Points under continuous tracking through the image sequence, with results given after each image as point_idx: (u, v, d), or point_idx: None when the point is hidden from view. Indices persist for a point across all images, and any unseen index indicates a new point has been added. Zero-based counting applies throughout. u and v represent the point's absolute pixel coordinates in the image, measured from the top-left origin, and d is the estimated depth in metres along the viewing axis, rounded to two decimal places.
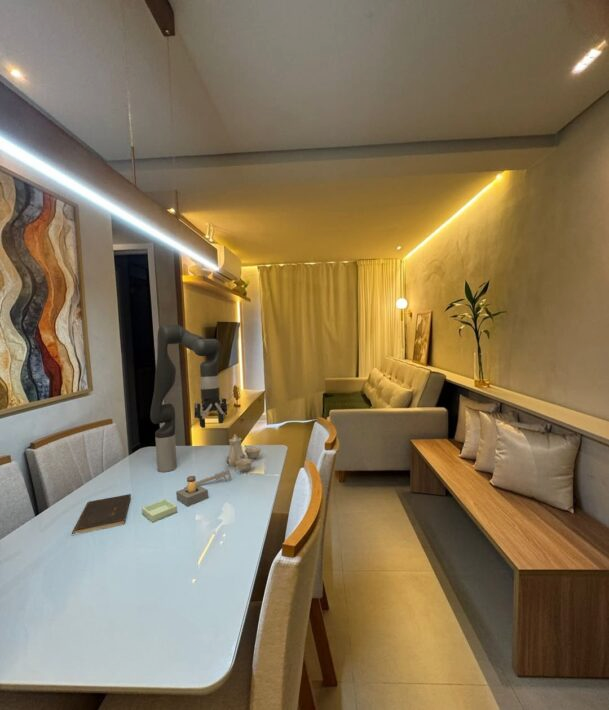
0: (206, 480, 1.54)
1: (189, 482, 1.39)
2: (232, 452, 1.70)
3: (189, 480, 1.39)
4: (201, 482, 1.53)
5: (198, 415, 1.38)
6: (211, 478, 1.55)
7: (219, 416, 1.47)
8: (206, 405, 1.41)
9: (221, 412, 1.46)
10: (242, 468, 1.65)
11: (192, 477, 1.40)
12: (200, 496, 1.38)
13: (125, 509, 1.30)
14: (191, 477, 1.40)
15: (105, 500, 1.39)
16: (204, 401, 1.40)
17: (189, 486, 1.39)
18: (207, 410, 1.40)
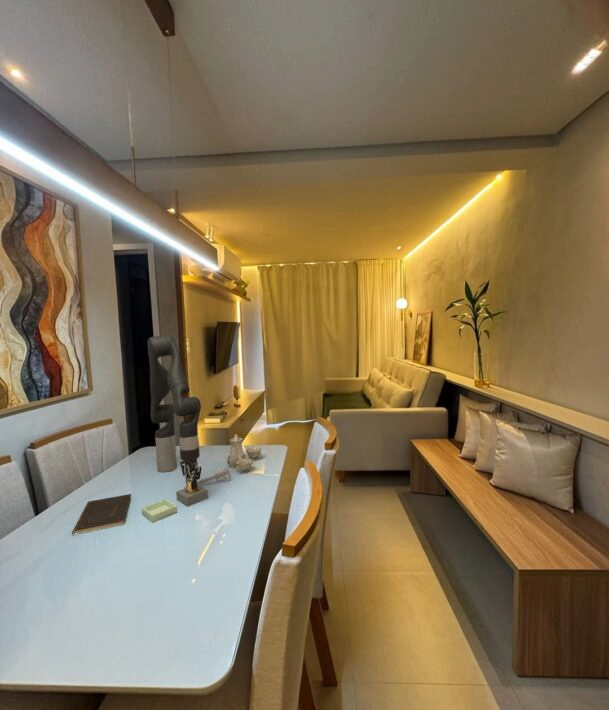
0: (206, 480, 1.54)
1: (189, 482, 1.39)
2: (233, 452, 1.70)
3: (189, 480, 1.39)
4: (201, 482, 1.53)
5: None
6: (211, 478, 1.55)
7: None
8: None
9: None
10: (243, 468, 1.65)
11: None
12: (200, 496, 1.38)
13: (125, 509, 1.30)
14: None
15: (105, 500, 1.39)
16: (196, 461, 1.38)
17: (189, 486, 1.39)
18: None
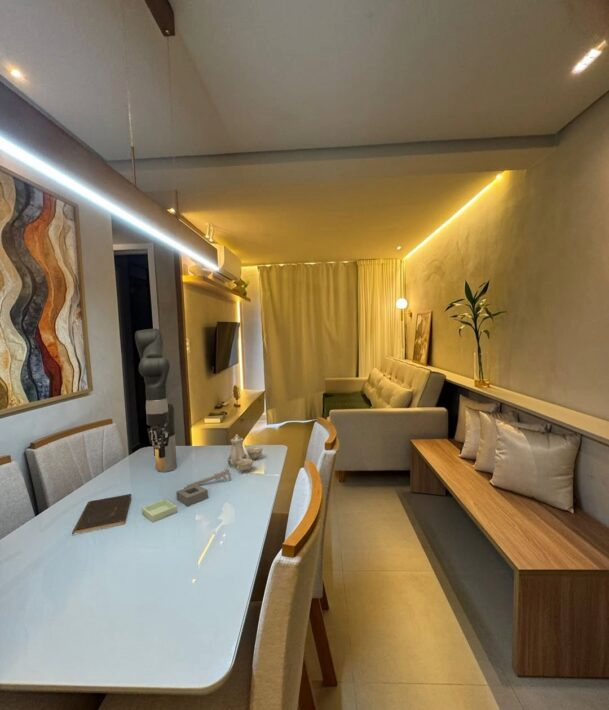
0: (206, 480, 1.54)
1: (156, 449, 1.28)
2: (233, 452, 1.70)
3: (156, 447, 1.28)
4: (201, 482, 1.53)
5: None
6: (211, 478, 1.55)
7: None
8: None
9: None
10: (243, 468, 1.64)
11: None
12: (200, 496, 1.38)
13: (125, 509, 1.30)
14: None
15: (106, 500, 1.39)
16: (164, 426, 1.27)
17: (156, 454, 1.28)
18: None
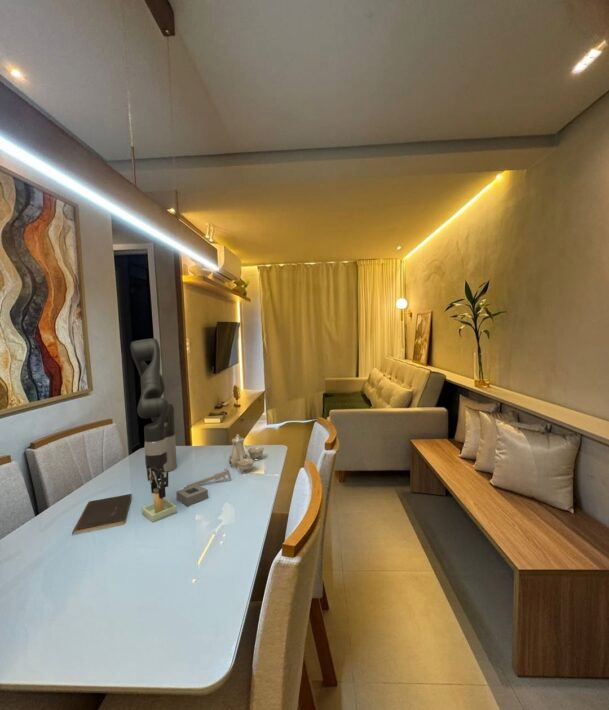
0: (206, 480, 1.54)
1: (155, 494, 1.28)
2: (234, 452, 1.70)
3: (155, 492, 1.28)
4: (201, 482, 1.53)
5: (167, 483, 1.26)
6: (211, 478, 1.55)
7: (154, 485, 1.31)
8: None
9: None
10: (244, 468, 1.64)
11: None
12: (200, 496, 1.38)
13: (125, 509, 1.30)
14: (158, 488, 1.29)
15: (106, 500, 1.39)
16: (163, 467, 1.27)
17: (155, 498, 1.28)
18: None
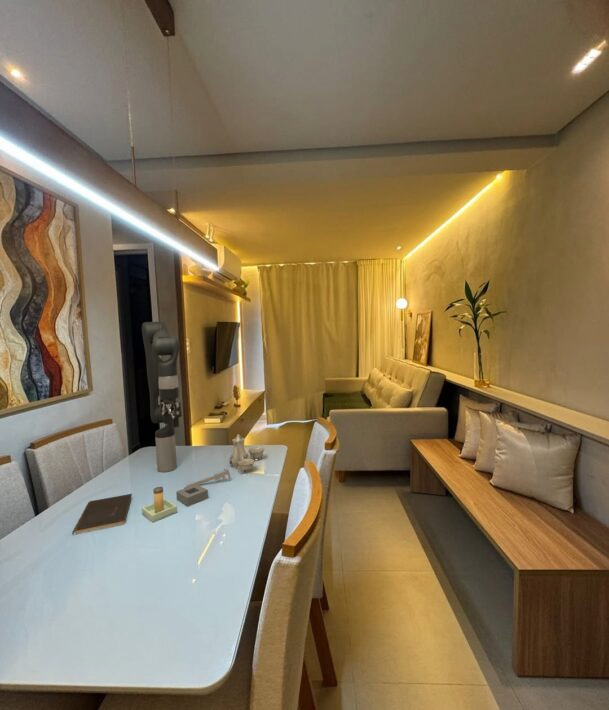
0: (205, 480, 1.54)
1: (155, 494, 1.28)
2: (235, 452, 1.70)
3: (155, 492, 1.28)
4: (200, 482, 1.53)
5: (180, 413, 1.38)
6: (210, 478, 1.55)
7: (166, 416, 1.45)
8: None
9: (168, 411, 1.46)
10: (244, 468, 1.64)
11: (159, 488, 1.29)
12: (200, 496, 1.38)
13: (126, 509, 1.30)
14: (158, 488, 1.29)
15: (106, 500, 1.39)
16: (175, 400, 1.40)
17: (155, 498, 1.28)
18: None
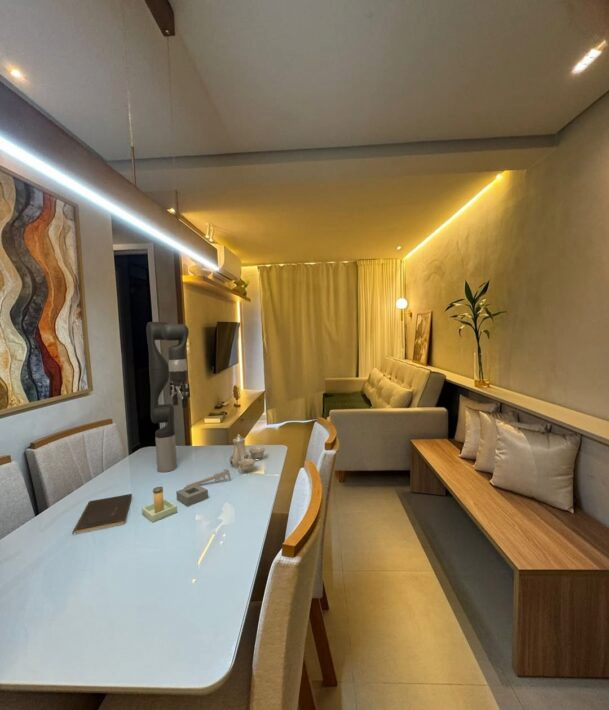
0: (205, 480, 1.54)
1: (155, 494, 1.28)
2: (235, 452, 1.70)
3: (155, 491, 1.28)
4: (200, 482, 1.53)
5: None
6: (210, 478, 1.55)
7: (175, 399, 1.54)
8: None
9: (177, 394, 1.55)
10: (244, 468, 1.64)
11: (159, 488, 1.29)
12: (200, 496, 1.38)
13: (126, 509, 1.30)
14: (158, 488, 1.30)
15: (106, 500, 1.39)
16: (184, 382, 1.49)
17: (155, 498, 1.28)
18: None
